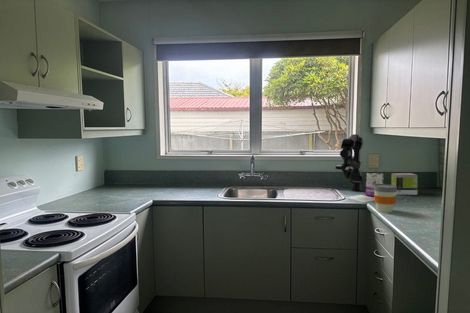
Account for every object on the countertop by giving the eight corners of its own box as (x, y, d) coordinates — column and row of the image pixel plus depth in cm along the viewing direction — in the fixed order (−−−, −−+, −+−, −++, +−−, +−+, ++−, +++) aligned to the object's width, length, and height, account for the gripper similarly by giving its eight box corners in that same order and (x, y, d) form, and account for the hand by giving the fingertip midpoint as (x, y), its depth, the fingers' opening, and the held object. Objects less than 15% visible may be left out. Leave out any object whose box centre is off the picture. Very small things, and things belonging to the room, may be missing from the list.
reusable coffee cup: (376, 207, 205) (377, 183, 204) (398, 210, 197) (399, 185, 196) (370, 211, 195) (370, 186, 194) (393, 214, 188) (394, 188, 186)
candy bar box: (382, 197, 234) (383, 173, 234) (382, 197, 229) (383, 173, 229) (365, 195, 239) (367, 172, 239) (365, 196, 234) (366, 172, 234)
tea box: (411, 192, 249) (412, 172, 247) (417, 195, 239) (418, 174, 237) (390, 192, 250) (391, 172, 249) (395, 195, 240) (396, 174, 239)
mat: (360, 195, 239) (360, 194, 239) (379, 199, 225) (379, 199, 225) (344, 198, 231) (344, 197, 231) (363, 202, 217) (363, 201, 217)
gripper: (347, 158, 220) (347, 181, 222) (366, 156, 230) (365, 179, 231) (335, 157, 230) (334, 179, 231) (353, 155, 239) (353, 177, 241)
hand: (347, 178), depth 233 cm, fingers closed
